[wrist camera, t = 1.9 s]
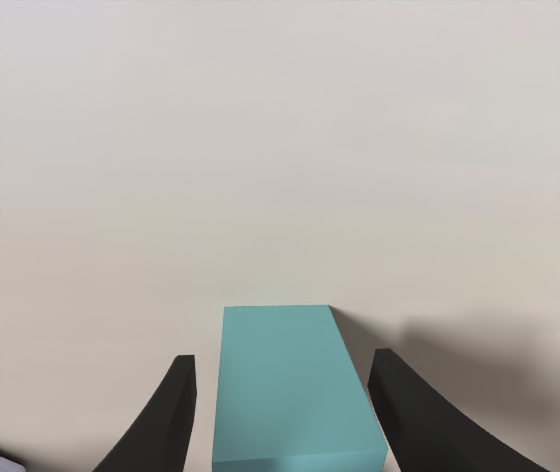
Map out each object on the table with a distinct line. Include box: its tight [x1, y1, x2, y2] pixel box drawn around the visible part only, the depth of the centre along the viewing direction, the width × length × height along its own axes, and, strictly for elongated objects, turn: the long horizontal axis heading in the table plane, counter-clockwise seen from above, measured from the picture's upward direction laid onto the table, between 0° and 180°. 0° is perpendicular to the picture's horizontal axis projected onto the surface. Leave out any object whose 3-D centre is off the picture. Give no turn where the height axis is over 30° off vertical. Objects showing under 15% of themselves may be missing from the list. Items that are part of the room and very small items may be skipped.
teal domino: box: [212, 305, 388, 472], centre depth 12 cm, size 2×5×7 cm, turn 87°
